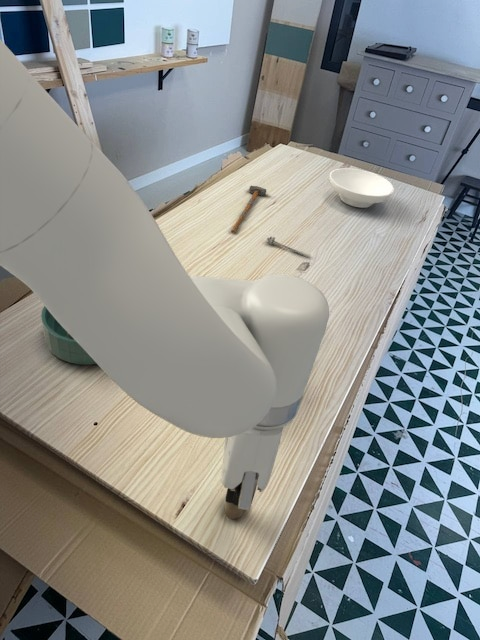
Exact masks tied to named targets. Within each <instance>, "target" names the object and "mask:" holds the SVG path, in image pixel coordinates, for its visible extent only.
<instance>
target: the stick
mask: <svg viewBox="0 0 480 640" xmlns="http://www.w3.org/2000/svg"><path fill="white" fill-rule="evenodd" d="M243 512H244V510H243V509H239V506H236V505H234V504H233V503H228V502H226V501H225V505H224V514H225V515H226V517H227V518H229V519H231V520H236V519H239V518H240V517H241V516H242V515H243Z"/></svg>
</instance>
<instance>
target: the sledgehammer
mask: <svg viewBox="0 0 480 640" xmlns="http://www.w3.org/2000/svg"><path fill="white" fill-rule="evenodd" d="M248 193H249V194H252V196H251V197H250V198H249V200H248V202H247V203H246V206H245V207H244V209H243V211H242V212H241V214H240V215H239V217H238V219H237V220H236V222H235V224H234V226H233V227H232V229H231V233H233V234H235V232H237V231H236V230H237V229H238V227H239V225H240V224H241V222H242V221H243V219H244V218H245V216H246V214H247V213H248V211H249V209H250V208H251V206H252V205H253V204H254V202H255V200H256V199H257V197H258V196H261V197H265V196H266V195H267V189H266V188H263V187H261V186H257V185H250V186H249V188H248Z"/></svg>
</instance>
